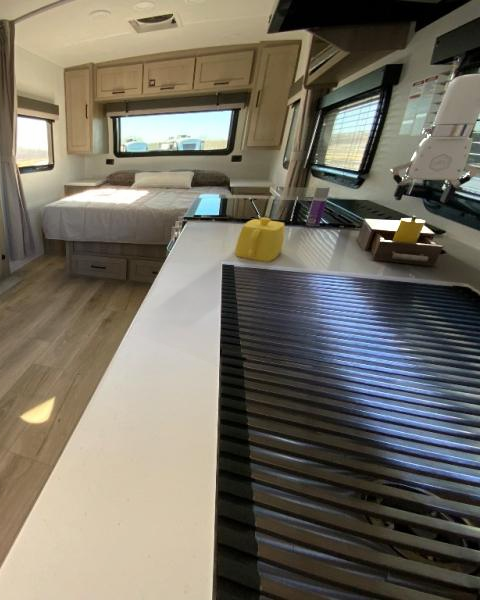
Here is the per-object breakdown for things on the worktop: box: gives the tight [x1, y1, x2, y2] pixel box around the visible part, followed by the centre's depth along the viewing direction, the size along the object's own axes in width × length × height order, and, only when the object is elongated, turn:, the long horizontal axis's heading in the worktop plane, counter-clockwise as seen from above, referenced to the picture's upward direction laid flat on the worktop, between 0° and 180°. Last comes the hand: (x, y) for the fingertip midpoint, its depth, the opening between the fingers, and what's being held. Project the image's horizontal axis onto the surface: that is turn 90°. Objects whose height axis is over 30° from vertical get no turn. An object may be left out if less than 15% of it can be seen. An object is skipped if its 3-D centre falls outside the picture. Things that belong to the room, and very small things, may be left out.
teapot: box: [235, 217, 285, 263], centre depth 107 cm, size 20×12×12 cm, turn 138°
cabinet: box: [356, 218, 436, 252], centre depth 107 cm, size 15×15×8 cm
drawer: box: [369, 232, 444, 267], centre depth 98 cm, size 18×13×6 cm
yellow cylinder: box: [392, 215, 426, 243], centre depth 97 cm, size 5×5×11 cm
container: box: [305, 185, 331, 227], centre depth 134 cm, size 5×5×15 cm
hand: (419, 200), depth 92 cm, fingers open, 9 cm apart
